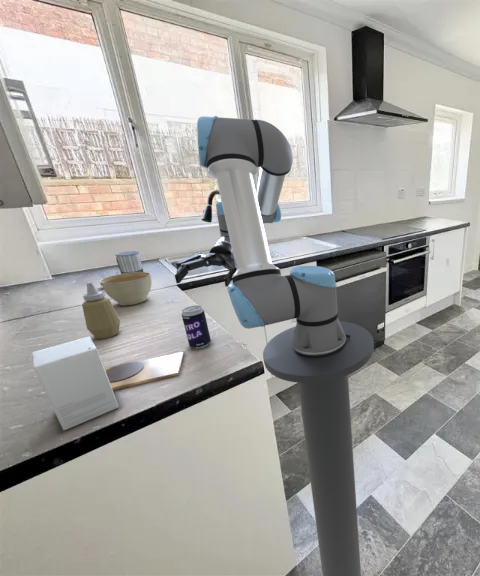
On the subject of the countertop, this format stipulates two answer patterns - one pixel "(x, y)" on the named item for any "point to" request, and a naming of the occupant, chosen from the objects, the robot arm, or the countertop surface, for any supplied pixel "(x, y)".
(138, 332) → the countertop surface
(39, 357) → the rectangular carton
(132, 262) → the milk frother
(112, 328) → the squeeze bottle
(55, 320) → the countertop surface
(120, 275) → the planter bowl
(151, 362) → the board
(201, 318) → the beverage can
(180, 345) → the countertop surface
